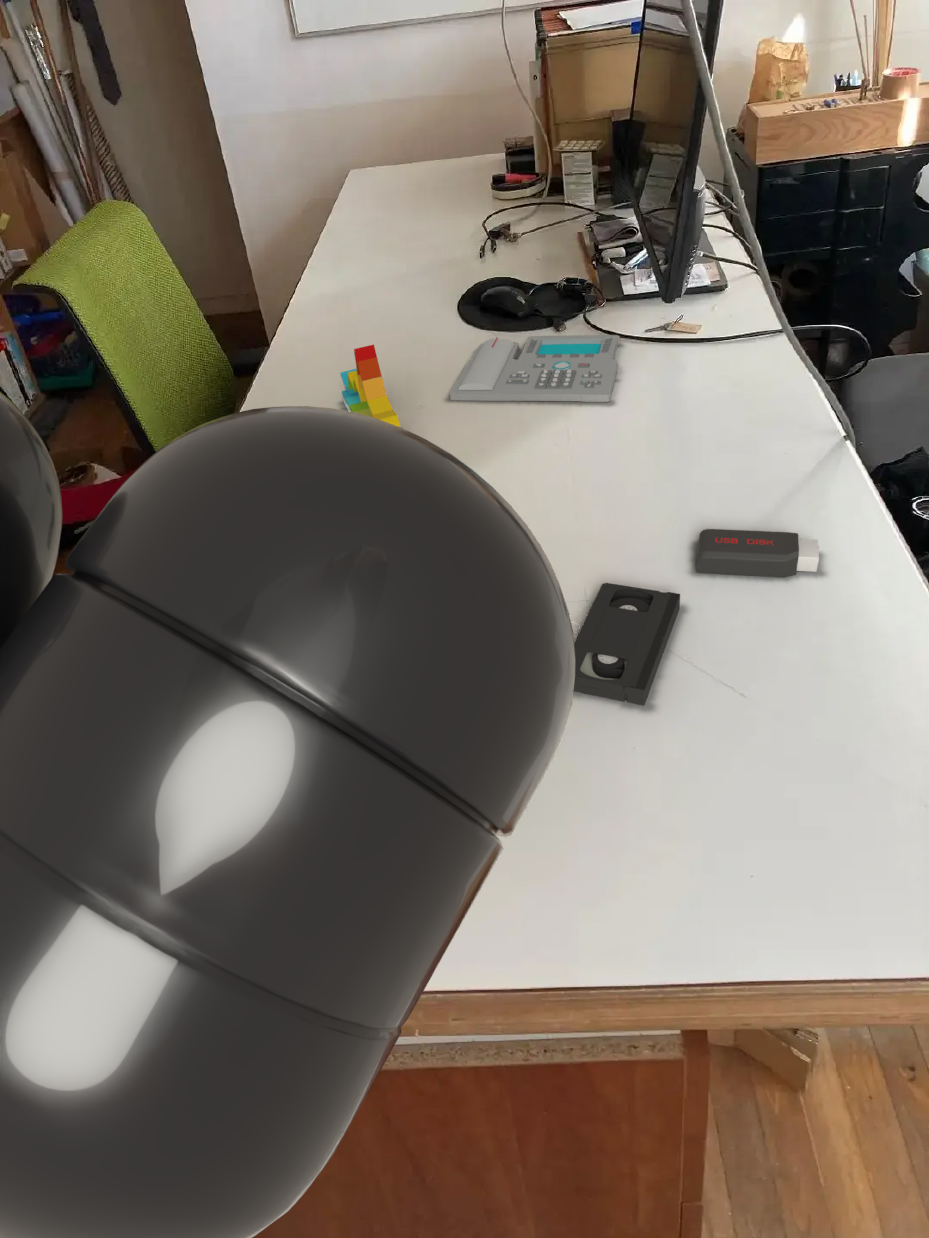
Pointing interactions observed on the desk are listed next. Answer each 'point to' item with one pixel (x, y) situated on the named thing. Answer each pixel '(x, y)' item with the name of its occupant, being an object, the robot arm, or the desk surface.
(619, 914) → the desk surface
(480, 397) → the office telephone
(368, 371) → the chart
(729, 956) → the desk surface
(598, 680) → the vhs tape
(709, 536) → the usb drive
